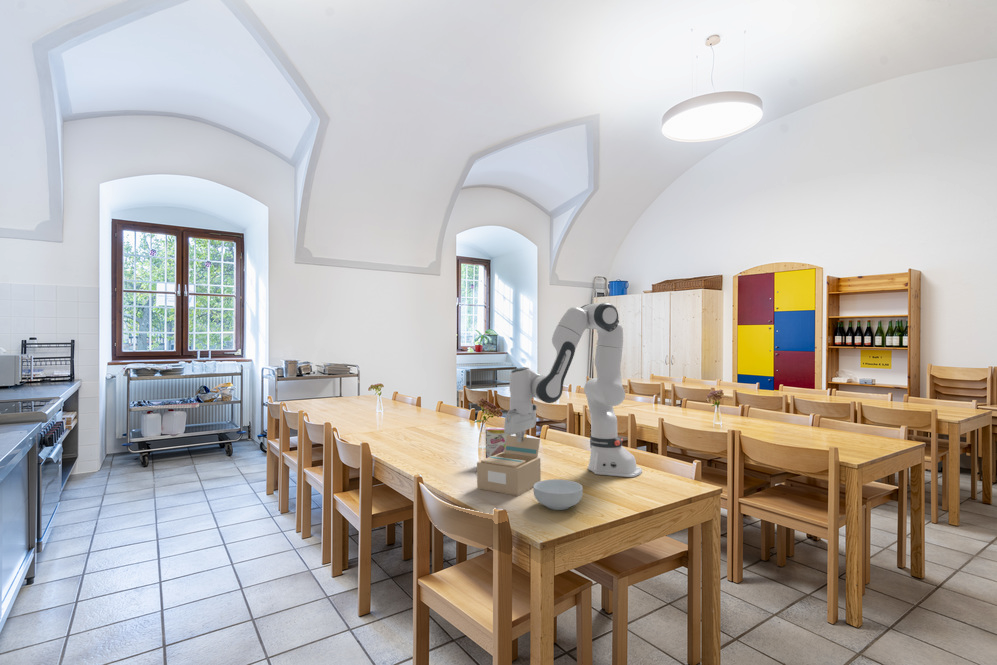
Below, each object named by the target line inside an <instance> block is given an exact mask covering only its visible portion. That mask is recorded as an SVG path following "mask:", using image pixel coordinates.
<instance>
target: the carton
mask: <svg viewBox="0 0 997 665" xmlns="http://www.w3.org/2000/svg"><path fill="white" fill-rule="evenodd" d="M494 456H497V457H504V458H511V459H517V460H524V461H526V462H525V463H523V464H521V465H519V466H517V467H511V466H505V465H498V464H492V463H485V462H481V460H479V461H477V462H476V484H477V487H476V488H477V490H478V489H479V490H484V491H488V492H494V493H500V494H503V495H505V494H506V495H510V496H516V497H519V496H521V495H522V494H525V493H526V492H528V491H529V490H531V489H533V485H534V484H535V483H537V482H540V481H542V478H541V477H542V476H541V472H542V471H541V470H542V469H541V457H539V456H538V457H531V456H524V455H517V454H510V453H503V452H501V453H499V454H496V455H494Z"/></svg>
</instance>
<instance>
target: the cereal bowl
mask: <svg viewBox="0 0 997 665" xmlns="http://www.w3.org/2000/svg"><path fill="white" fill-rule="evenodd" d="M583 487H584V486H583V485H582V484H581V483H579V482H577V481H573V480H569V479H562V478H561V479H560V478H559V479H558V478H556V479H545V480H541V481H540V482H537V483H535V484H534V485H533V488H532V489H533V495H534V498H535V499H536V501H537V502H538V503H539V504H541V505H543V506H545V507H546V508H548V509H550V510H553V511H564V510H567V509H569V508H570V507H573V506H575V505H577V504H579V502H580V501H581V500H582V498H583V491H584V489H583Z"/></svg>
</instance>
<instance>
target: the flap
mask: <svg viewBox="0 0 997 665" xmlns="http://www.w3.org/2000/svg"><path fill="white" fill-rule="evenodd" d="M480 461H481V462H485V463H492V464H498V465H505V466H511V467H517V466H519V465H521V464H523V463H525V462H526V461H524V460H517V459H511V458H504V457H497V456H490V457H488V458H486V457H485V458H483V459H481V460H480Z"/></svg>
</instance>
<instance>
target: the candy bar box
mask: <svg viewBox="0 0 997 665" xmlns="http://www.w3.org/2000/svg"><path fill="white" fill-rule="evenodd" d="M507 435H510V434H505V432H504V427H486V429H485V459H486V458H488V457H490V456H494V455H496V454H499V453H501V452H503V453H504V450H505V444H506V438H507ZM510 436H512V435H510Z"/></svg>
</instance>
